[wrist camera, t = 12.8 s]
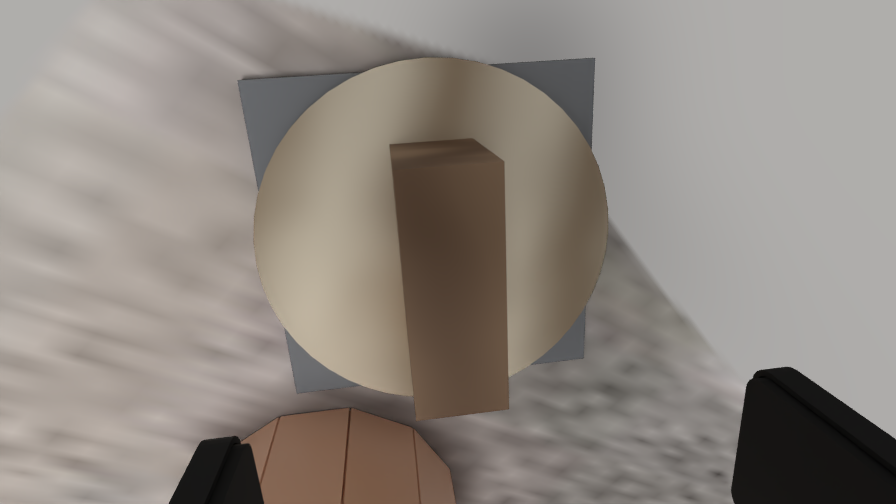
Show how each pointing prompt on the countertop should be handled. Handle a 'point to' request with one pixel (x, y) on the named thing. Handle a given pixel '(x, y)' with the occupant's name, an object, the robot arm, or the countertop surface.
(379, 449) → the bowl
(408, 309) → the lid
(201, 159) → the countertop surface
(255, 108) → the mat
